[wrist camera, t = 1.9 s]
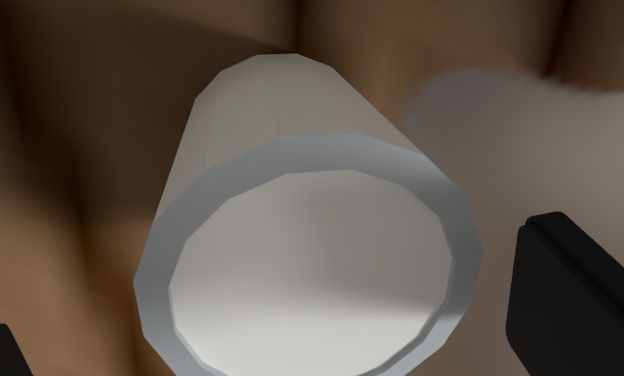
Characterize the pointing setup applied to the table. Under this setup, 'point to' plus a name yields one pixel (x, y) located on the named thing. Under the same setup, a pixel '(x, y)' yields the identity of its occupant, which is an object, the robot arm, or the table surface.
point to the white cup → (302, 234)
